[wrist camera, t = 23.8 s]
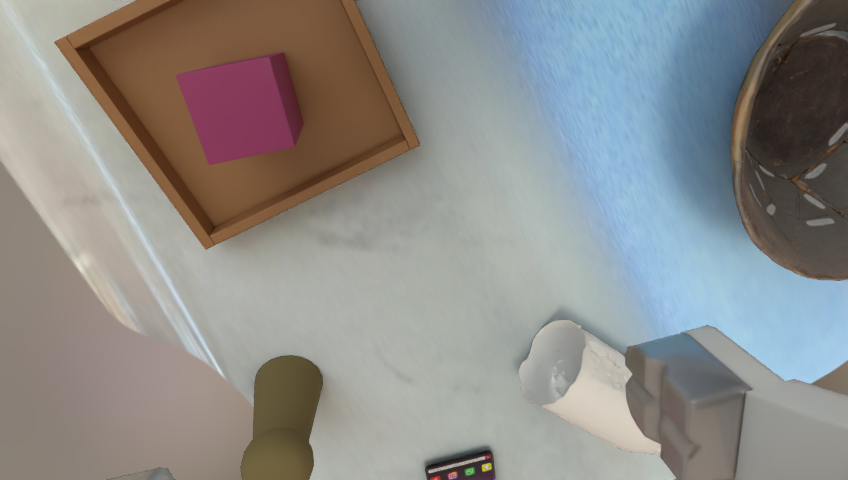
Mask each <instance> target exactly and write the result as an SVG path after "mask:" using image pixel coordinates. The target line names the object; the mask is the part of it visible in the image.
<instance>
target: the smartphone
mask: <svg viewBox="0 0 848 480" xmlns="http://www.w3.org/2000/svg"><path fill="white" fill-rule="evenodd" d="M425 471H426V476H427V480H496V478H495V469H494V461H493V453H492V452H491V451H490V450H487V451H483V452H479V453H475V454H472V455H468V456H464V457H460V458H456V459H452V460H448V461H444V462H440V463H436V464H432V465H428V466H427V467H426V468H425Z"/></svg>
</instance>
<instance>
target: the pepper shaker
mask: <svg viewBox="0 0 848 480" xmlns="http://www.w3.org/2000/svg"><path fill="white" fill-rule="evenodd" d="M322 385H323V381H322V375H321V373H320V371H319V369H318V367H316V366H315V365H314V364H313V363H312V362H311V361H309V360H307V359H304V358H302V357H297V356H280V357H277V358H275V359H272V360H270V361H268V362H267V363H266V364H264V365H263V366H262V367H261V368H260V370H259V371H258V373H257V375H256V378H255V385H254V420H253V440H252V441H251V443H250V444H249V445H248V447H247V448H246V450H245V452H244V455H243V459H242V463H241V467H240V468H241V476H242V480H309V478H310V476H311V473H312V470H313V466H314V458H313V451H312V447H311V445H310V444H309V438H310V434H311V430H312V426H313V422H314V418H315V413H316V409H317V405H318V401H319V397H320V393H321V389H322Z"/></svg>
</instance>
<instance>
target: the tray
mask: <svg viewBox="0 0 848 480" xmlns="http://www.w3.org/2000/svg"><path fill="white" fill-rule="evenodd" d="M55 44H56V45H57V47H58V48H59V49H60V51H61V52H62V54H63V55H64V56H65V58H66V59H67V60H68V62H69V63H70V65H71V66H72V67H73V69H74V70H75V71H76V73H77V74H78V75H79V77H80V78H81V80H82V81H83V82H84V84H85V85H86V86H87V88H88V89H89V91H90V92H91V93H92V95H93V96H94V97H95V99H96V100H97V101H98V103H99V104H100V106H101V107H102V108H103V110H104V111H105V112H106V114H107V115H108V117H109V118H110V119H111V121H112V122H113V123H114V125H115V126H116V127H117V129H118V130H119V132H120V133H121V134H122V136H123V137H124V138H125V140H126V141H127V142H128V144H129V145H130V147H131V148H132V149H133V151H134V152H135V153H136V155H137V156H138V158H139V159H140V160H141V162H142V163H143V164H144V166H145V167H146V168H147V170H148V171H149V173H150V174H151V175H152V177H153V178H154V179H155V181H156V182H157V184H158V185H159V186H160V188H161V189H162V190H163V192H164V193H165V194H166V196H167V197H168V199H169V200H170V201H171V203H172V204H173V205H174V207H175V208H176V210H177V211H178V212H179V214H180V215H181V216H182V218H183V219H184V220H185V222H186V223H187V225H188V226H189V227H190V229H191V230H192V231H193V233H194V234H195V236H196V237H197V238H198V240H199V241H200V242H201V244H202V245H203V246H204V248H205V249H208V248H210V247H212V246H214V245H215V244H218V243H220V242H222V241H224V240H226V239H228V238H230V237H233V236H235V235H237V234H239V233H241V232H243V231H245V230H247V229H249V228H251V227H253V226H255V225H257V224H259V223H261V222H263V221H265V220H267V219H269V218H271V217H273V216H276V215H278V214H280V213H282V212H284V211H286V210H288V209H290V208H292V207H294V206H296V205H298V204H300V203H302V202H304V201H306V200H308V199H310V198H312V197H314V196H317V195H319V194H321V193H323V192H325V191H327V190H329V189H331V188H333V187H335V186H337V185H339V184H341V183H343V182H345V181H347V180H349V179H351V178H353V177H355V176H357V175H360V174H362V173H364V172H366V171H368V170H370V169H372V168H374V167H376V166H378V165H380V164H382V163H384V162H386V161H388V160H390V159H392V158H394V157H396V156H398V155H400V154H403V153H405V152H407V151H409V150H410V149H413V148H415V147H417V146H419V145H420V143H419V141H418V139H417V136H416V134H415V132H414V130H413V128H412V125H411V123H410V121H409V119H408V117H407V114H406V112H405V110H404V108H403V106H402V103H401V101H400V99H399V97H398V95H397V92H396V90H395V88H394V86H393V84H392V81H391V79H390V77H389V75H388V73H387V70H386V68H385V66H384V64H383V62H382V59H381V57H380V55H379V53H378V51H377V48H376V46H375V44H374V42H373V40H372V37H371V35H370V33H369V31H368V29H367V26H366V24H365V22H364V20H363V18H362V16H361V13H360V11H359V9H358V7H357V5H356V2H355V0H136V1H134V2H132V3H130V4H128V5H126V6H124V7H122V8H120V9H118V10H116V11H114V12H112V13H110V14H108V15H106V16H104V17H103V18H101V19H99V20H97V21H95V22H93V23H91V24H89V25H87V26H85V27H83V28H81V29H79V30H77V31H75V32H73V33H71V34H69V35H67V36H66V37H63V38H61V39H59V40H57V41H55ZM280 52H284V54H285V58H286V61H287V65H288V69H289V72H290V76H291V80H292V83H293V87H294V90H295V94H296V98H297V101H298V105H299V108H300V112H301V116H302V119H303V123H304V124H303V127H302V129H301V132H300V135H299V137H298V140H297V143H296V145H295V147H292V148H288V149H283V150H278V151H273V152H269V153H264V154H259V155H254V156H250V157H245V158H240V159H236V160H231V161H226V162H221V163H217V164H212V165H209V164H208V161H207V159H206V156H205V153H204V151H203V148H202V145H201V142H200V140H199V137H198V134H197V132H196V129H195V126H194V124H193V121H192V118H191V115H190V113H189V110H188V107H187V105H186V102H185V99H184V96H183V94H182V91H181V88H180V86H179V83H178V80H177V78H176V75H178V74H182V73H186V72H190V71H194V70H198V69H202V68H206V67H210V66H214V65H219V64H224V63H229V62H235V61H240V60H245V59H250V58H255V57H260V56H265V55H270V54H275V53H280Z"/></svg>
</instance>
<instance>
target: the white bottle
mask: <svg viewBox="0 0 848 480" xmlns="http://www.w3.org/2000/svg"><path fill="white" fill-rule="evenodd" d="M518 373H519V377H520V380H521V383H522V391H523V394H524V396H525V398H526V399H527V400H528V401H529V402H530V403H532V404H536V405H539V406H541V407H543V408H545V409H547V410H548V411H550V412H552V413H554V414H556V415H558V416H559V417H561V418H562V419H564V420H566V421H568V422H570V423H572V424H574V425H576V426H578V427H580V428H582V429H584V430H585V431H587V432H589V433H591V434H593V435H595V436H597V437H599V438H601V439H603V440H605V441H606V442H608V443H610V444H612V445H614V446H616V447H617V448H619V449H622V450H626V451H629V452H639V453H648V454H655V453H661V444H659V443H657V442H654V441H652V440H650V439H648V438H646V437H645V436H644V435H643V433H642V432H641V431H640V429H639V428H638V427H637V425H636V423H635V421H634V420H633V418H632V416H631V414H630V410H629V407H628V404H627V401H626V388H625V385H626V383H627V382H628V380H629V379H630V377H631V376H632V373H631V372H630V370H629V369H628V368H627V367H626V366H625V357H624V356H623V355H622V354H621V353H619V352H618V351H617V350H615V349H613V348H612V347H610V346H609V345H607V344H606V343H604V342H603V341H601V340H599V339H598V338H596V337H595V336H593V335H592V334H590V333H588V332H587V331H585V330H583V329H581V325H576V324H575V323H573V322H572V321H571V320H569V321H568V320H559V321H553V322H551V323H549V324H547V325H546V326H545V327H543V328H542V329H541V330H540V331H539V332H538V333H537V335H536V336H535V338H534V340H533V342H532V347H531V352H530V354H529V356H528V358H527V360H525V361H523V362H522V364H521V366H520V369H519V371H518Z"/></svg>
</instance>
